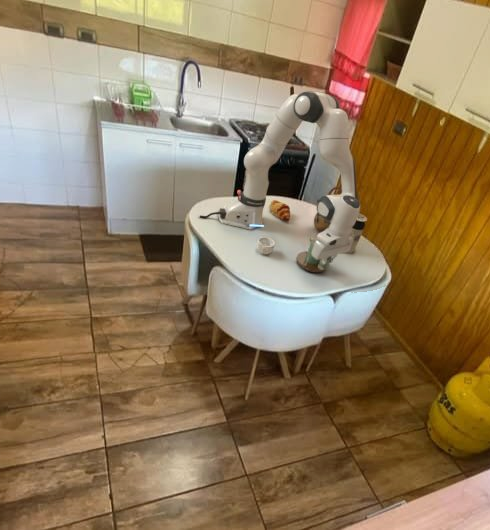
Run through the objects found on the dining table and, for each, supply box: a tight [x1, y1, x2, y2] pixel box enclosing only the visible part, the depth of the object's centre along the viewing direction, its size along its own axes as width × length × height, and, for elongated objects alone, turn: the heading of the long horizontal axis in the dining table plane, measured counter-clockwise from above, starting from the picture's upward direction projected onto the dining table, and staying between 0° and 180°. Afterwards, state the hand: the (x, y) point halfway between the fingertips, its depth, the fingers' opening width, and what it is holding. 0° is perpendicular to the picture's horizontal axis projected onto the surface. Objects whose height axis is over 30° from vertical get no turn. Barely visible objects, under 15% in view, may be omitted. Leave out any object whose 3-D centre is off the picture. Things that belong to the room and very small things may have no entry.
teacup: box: [256, 236, 276, 255], centre depth 170 cm, size 10×8×5 cm
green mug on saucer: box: [295, 237, 332, 273], centre depth 164 cm, size 15×14×10 cm
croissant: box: [269, 199, 291, 222], centre depth 202 cm, size 21×10×8 cm, turn 19°
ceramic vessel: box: [313, 185, 342, 233], centre depth 190 cm, size 16×9×25 cm, turn 104°
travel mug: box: [347, 213, 368, 254], centre depth 181 cm, size 8×8×18 cm
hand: (326, 262), depth 160 cm, fingers closed on green mug on saucer, 2 cm apart
